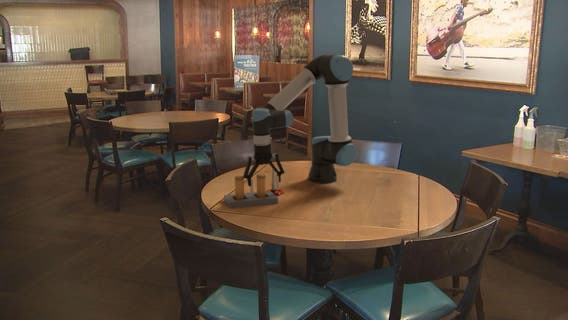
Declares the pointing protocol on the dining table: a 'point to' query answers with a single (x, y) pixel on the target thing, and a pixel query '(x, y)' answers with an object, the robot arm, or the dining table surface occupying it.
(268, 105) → the robot arm
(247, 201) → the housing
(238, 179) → the cylinder
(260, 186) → the peg
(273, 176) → the tow hook
